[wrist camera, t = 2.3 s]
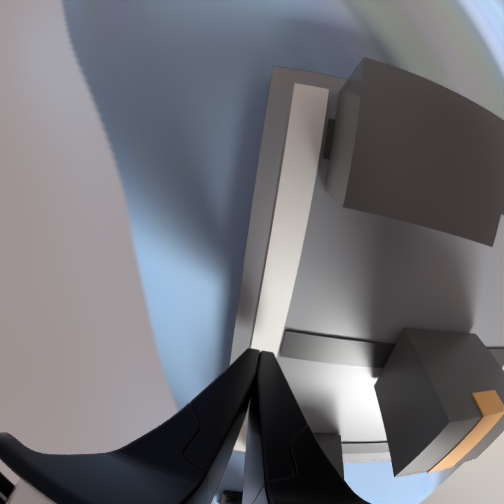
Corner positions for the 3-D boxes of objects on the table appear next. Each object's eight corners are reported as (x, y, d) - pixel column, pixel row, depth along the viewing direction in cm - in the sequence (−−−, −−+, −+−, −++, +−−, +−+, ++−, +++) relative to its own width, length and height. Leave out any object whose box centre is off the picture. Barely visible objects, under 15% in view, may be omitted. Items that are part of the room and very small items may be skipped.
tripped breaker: (443, 386, 9) (475, 459, 5) (373, 386, 10) (393, 478, 5) (476, 332, 8) (527, 404, 4) (404, 326, 9) (451, 422, 4)
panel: (442, 440, 13) (455, 483, 9) (222, 433, 14) (206, 491, 10) (562, 195, 7) (613, 215, 3) (275, 77, 8) (261, 19, 4)
